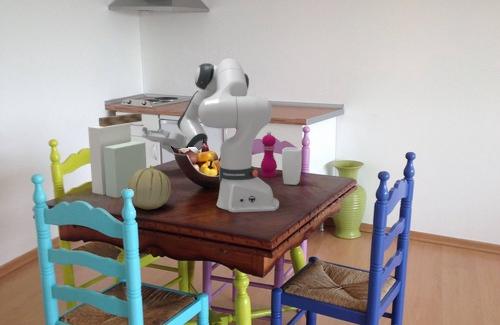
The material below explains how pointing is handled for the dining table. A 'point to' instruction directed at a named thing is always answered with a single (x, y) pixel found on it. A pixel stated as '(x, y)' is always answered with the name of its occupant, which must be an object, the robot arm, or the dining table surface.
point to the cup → (291, 165)
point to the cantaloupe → (149, 188)
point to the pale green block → (122, 165)
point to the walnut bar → (120, 119)
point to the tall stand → (97, 141)
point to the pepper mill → (268, 156)
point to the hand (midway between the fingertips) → (151, 129)
